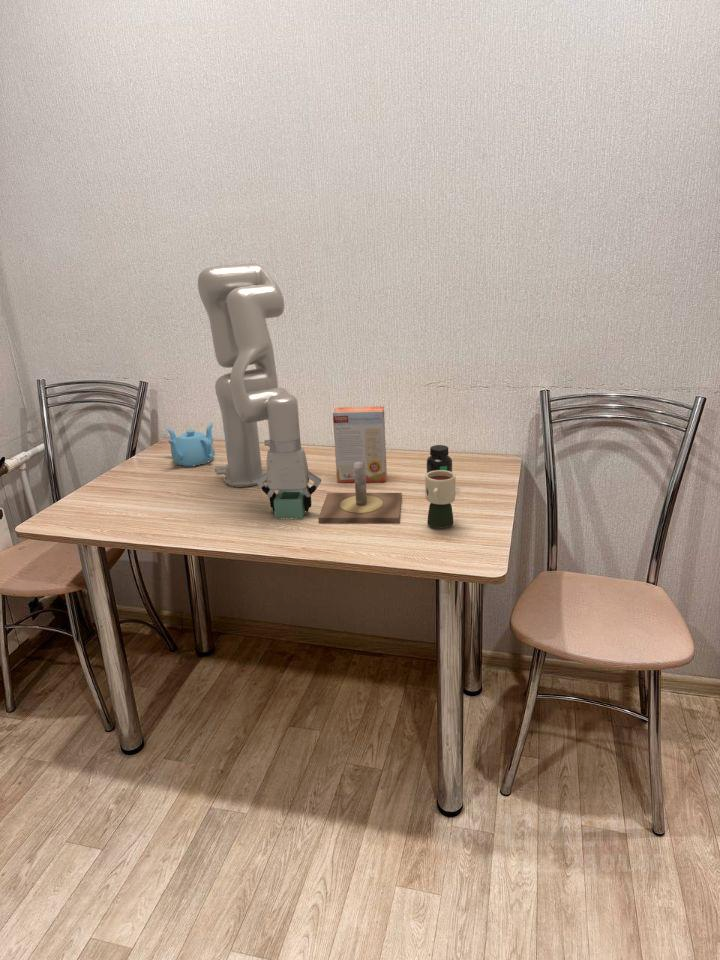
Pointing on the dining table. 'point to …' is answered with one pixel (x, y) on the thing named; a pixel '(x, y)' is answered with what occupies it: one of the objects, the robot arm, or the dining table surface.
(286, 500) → the collar
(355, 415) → the cracker box
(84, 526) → the dining table surface
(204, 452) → the teapot
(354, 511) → the post board
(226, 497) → the dining table surface
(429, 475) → the character mug
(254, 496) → the dining table surface
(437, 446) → the supplement bottle
